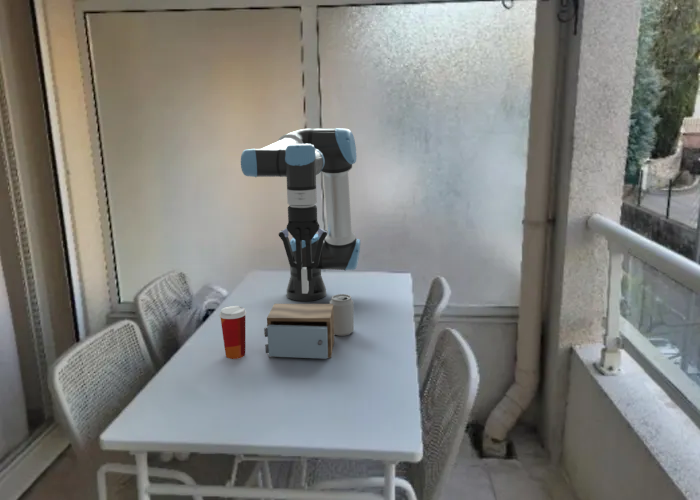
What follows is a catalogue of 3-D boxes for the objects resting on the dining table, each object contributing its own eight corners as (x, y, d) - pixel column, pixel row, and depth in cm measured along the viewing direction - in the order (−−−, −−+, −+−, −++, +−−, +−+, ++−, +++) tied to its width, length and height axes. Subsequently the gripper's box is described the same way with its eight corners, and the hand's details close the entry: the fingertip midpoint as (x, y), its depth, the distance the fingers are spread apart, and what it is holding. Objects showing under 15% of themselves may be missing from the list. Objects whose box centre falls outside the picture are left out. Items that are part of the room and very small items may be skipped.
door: (266, 353, 164) (265, 324, 161) (327, 356, 162) (327, 326, 159) (264, 357, 161) (262, 327, 159) (326, 360, 159) (325, 330, 157)
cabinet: (276, 340, 175) (274, 303, 173) (334, 340, 175) (333, 303, 172) (268, 356, 164) (266, 317, 161) (331, 357, 163) (330, 318, 160)
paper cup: (239, 347, 171) (236, 303, 167) (254, 355, 165) (251, 309, 162) (216, 355, 165) (213, 310, 162) (231, 363, 160) (228, 316, 157)
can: (351, 337, 177) (350, 301, 174) (327, 336, 178) (327, 299, 176) (355, 328, 184) (355, 293, 181) (333, 327, 186) (332, 292, 183)
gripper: (274, 207, 143) (278, 296, 149) (326, 207, 142) (328, 296, 148) (279, 202, 150) (283, 287, 156) (328, 202, 150) (330, 287, 156)
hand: (305, 291), depth 152 cm, fingers closed
